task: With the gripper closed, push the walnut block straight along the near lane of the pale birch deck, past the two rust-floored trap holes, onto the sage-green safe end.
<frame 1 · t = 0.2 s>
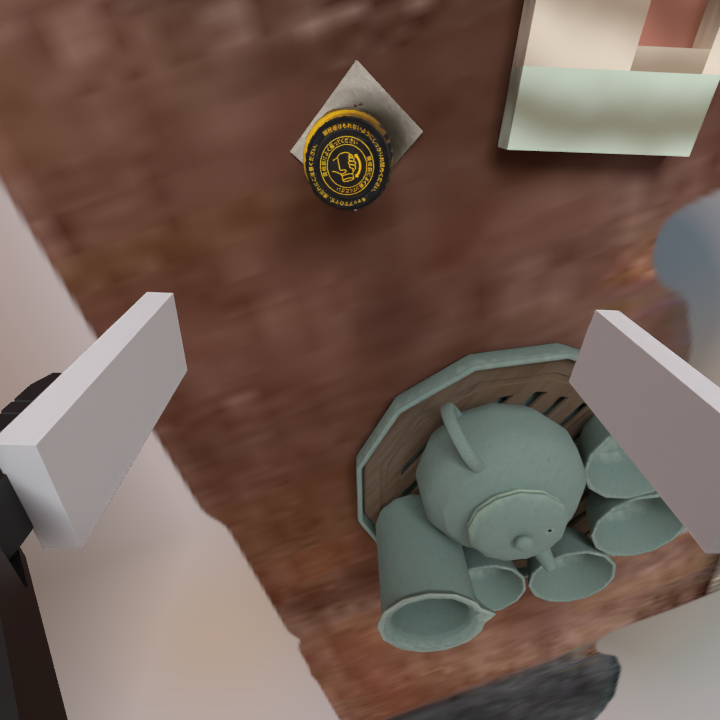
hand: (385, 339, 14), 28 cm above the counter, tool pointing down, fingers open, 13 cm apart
condiment: (355, 141, 36), on the counter
tea set: (504, 467, 56), on the counter
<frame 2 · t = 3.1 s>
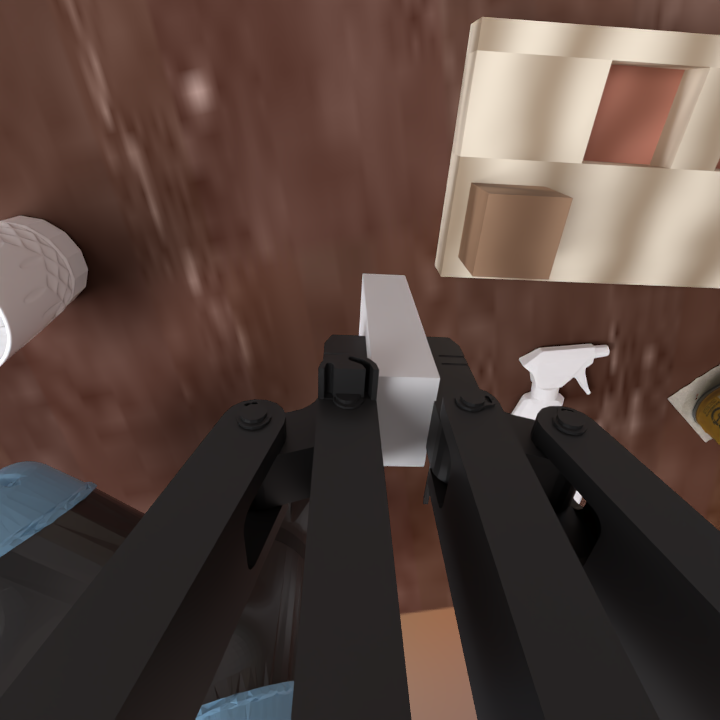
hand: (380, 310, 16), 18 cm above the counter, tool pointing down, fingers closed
trap deck: (657, 172, 30), on the counter
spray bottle: (533, 443, 44), on the counter
walnut block: (499, 223, 29), point 2 cm above the counter, touching trap deck
white cup: (43, 260, 32), on the counter
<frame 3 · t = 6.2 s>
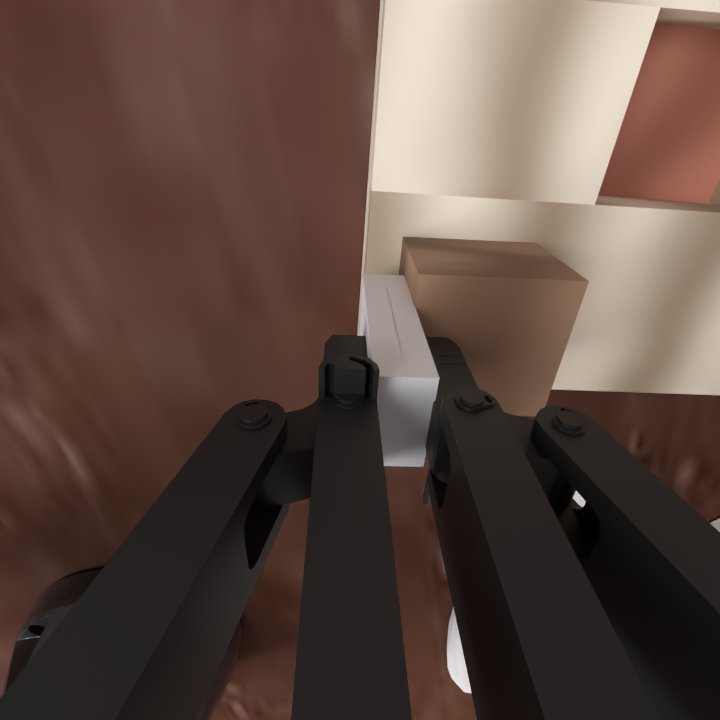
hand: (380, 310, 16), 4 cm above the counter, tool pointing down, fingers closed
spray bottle: (523, 569, 32), on the counter
walnut block: (458, 302, 17), point 3 cm above the counter, touching gripper
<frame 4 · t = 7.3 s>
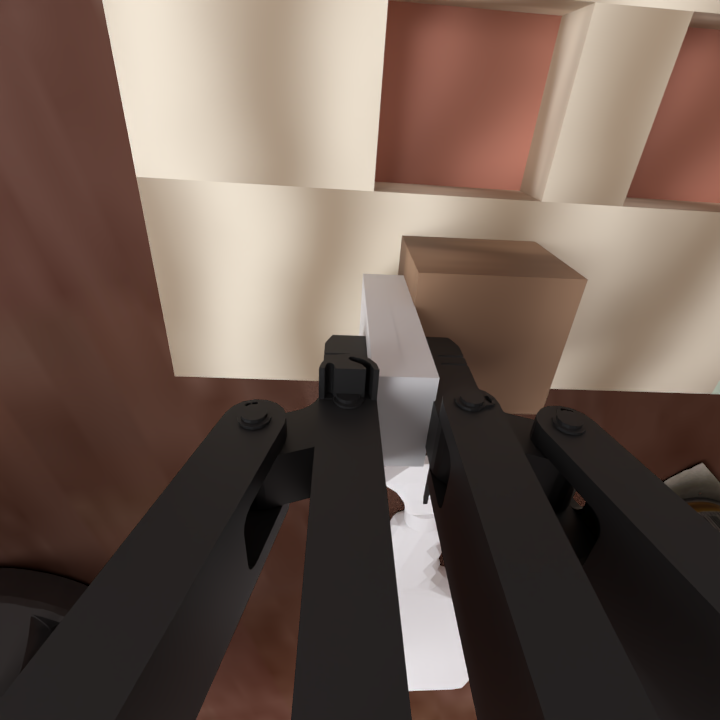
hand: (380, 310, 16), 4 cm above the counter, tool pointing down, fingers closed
trap deck: (537, 203, 18), on the counter
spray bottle: (421, 567, 31), on the counter
condiment: (671, 516, 29), on the counter
walnut block: (457, 301, 17), point 3 cm above the counter, touching gripper, trap deck
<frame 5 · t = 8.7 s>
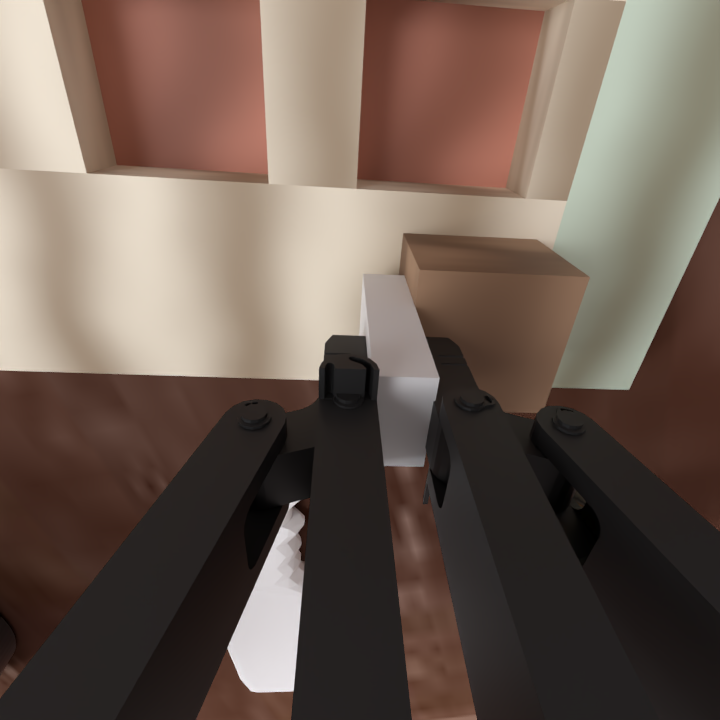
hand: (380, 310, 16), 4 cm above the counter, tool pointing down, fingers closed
trap deck: (304, 188, 17), on the counter
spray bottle: (294, 565, 31), on the counter
walnut block: (458, 299, 17), point 3 cm above the counter
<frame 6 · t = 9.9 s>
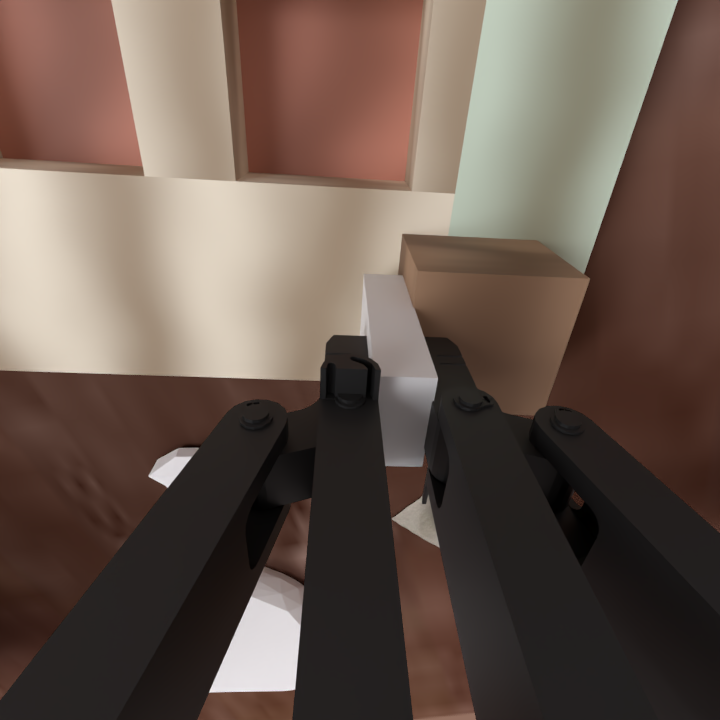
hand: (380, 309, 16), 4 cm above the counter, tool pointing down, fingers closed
trap deck: (199, 182, 17), on the counter
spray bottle: (240, 564, 30), on the counter
condiment: (475, 514, 28), on the counter
walnut block: (458, 300, 17), point 2 cm above the counter, touching gripper, trap deck
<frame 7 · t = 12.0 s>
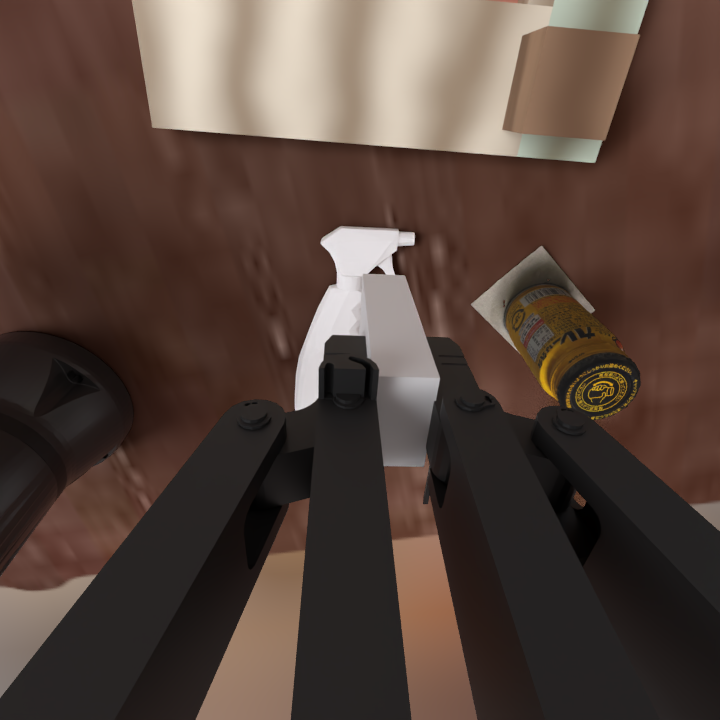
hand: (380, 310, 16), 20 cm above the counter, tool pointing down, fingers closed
trap deck: (388, 10, 27), on the counter
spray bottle: (353, 353, 41), on the counter
condiment: (531, 305, 38), on the counter
walnut block: (550, 88, 27), point 2 cm above the counter, touching trap deck
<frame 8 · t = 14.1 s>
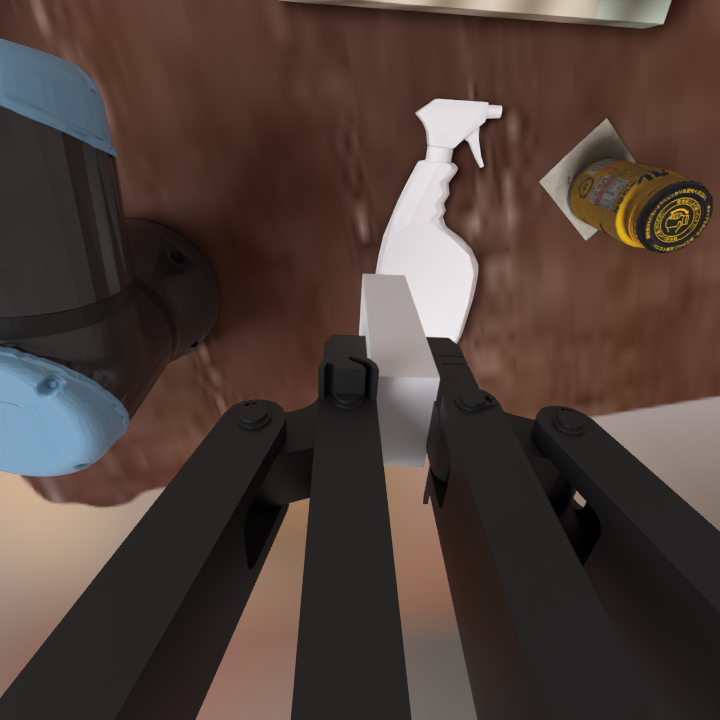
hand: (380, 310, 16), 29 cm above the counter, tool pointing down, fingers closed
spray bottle: (430, 236, 44), on the counter
condiment: (593, 182, 42), on the counter
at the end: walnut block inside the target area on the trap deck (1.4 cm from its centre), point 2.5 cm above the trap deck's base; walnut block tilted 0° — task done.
